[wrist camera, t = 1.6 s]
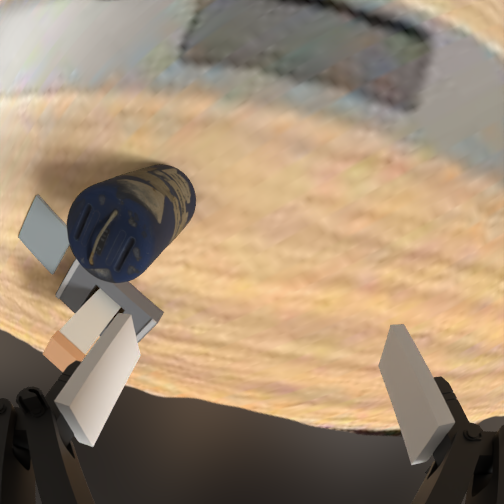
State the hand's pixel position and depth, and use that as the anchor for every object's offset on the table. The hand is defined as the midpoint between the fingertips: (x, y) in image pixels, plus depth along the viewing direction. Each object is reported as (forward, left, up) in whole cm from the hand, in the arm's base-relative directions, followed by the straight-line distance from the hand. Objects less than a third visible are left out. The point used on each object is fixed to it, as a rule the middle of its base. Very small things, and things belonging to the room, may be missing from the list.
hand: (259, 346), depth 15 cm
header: (-8, -28, -27) cm, 40 cm away
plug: (-8, -28, -27) cm, 40 cm away
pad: (-24, -28, -27) cm, 46 cm away
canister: (-11, -8, -28) cm, 31 cm away
